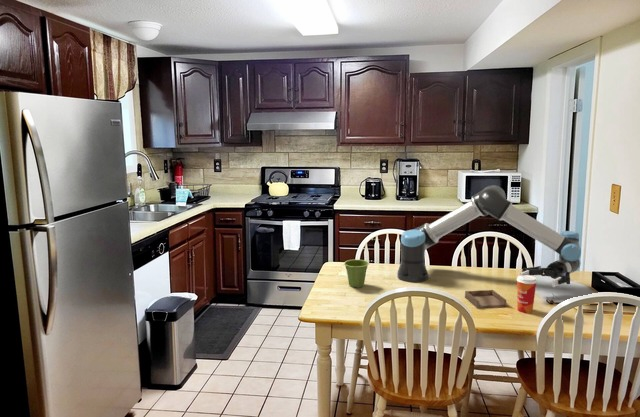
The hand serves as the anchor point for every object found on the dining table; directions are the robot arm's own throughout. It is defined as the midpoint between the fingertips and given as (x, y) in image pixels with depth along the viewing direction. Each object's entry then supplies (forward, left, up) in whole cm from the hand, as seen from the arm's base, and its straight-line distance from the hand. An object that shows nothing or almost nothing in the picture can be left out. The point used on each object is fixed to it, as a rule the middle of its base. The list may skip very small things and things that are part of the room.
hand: (536, 280), depth 193 cm
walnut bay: (-20, +4, -10) cm, 23 cm away
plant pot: (-71, +33, -11) cm, 79 cm away
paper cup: (-8, -7, -11) cm, 15 cm away
